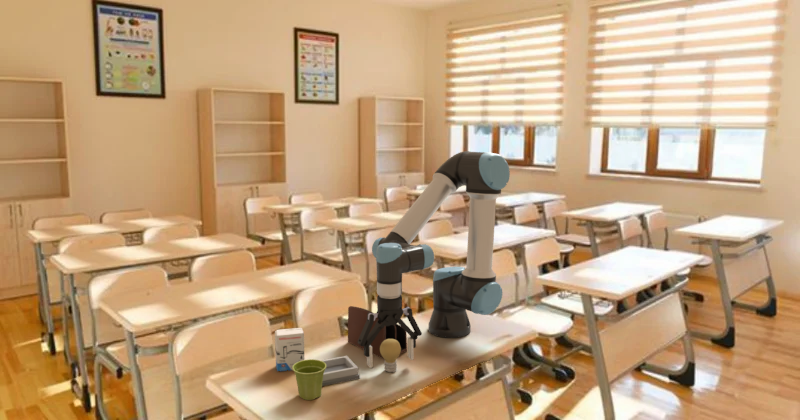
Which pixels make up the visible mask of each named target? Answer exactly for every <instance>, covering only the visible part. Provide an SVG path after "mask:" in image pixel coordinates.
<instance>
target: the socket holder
mask: <svg viewBox="0 0 800 420" xmlns="http://www.w3.org/2000/svg"><path fill="white" fill-rule="evenodd" d="M320 361H323V362H325V363H326V369H325V372H324V374H323V382H322V387H324V386H329V385H333V384H340V383H344V382H349V381H354V380H358V379H360V378H361V376H360V374H359V367H358V365H356V364H355V362H353V360H352V359H351V358H350V357H349V356H348V355H343V356H337V357H333V358H327V359H322V360H320Z"/></svg>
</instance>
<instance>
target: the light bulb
mask: <svg viewBox="0 0 800 420" xmlns="http://www.w3.org/2000/svg"><path fill="white" fill-rule="evenodd" d="M400 352H401V347H400V344H399V342H398V341H397V340H395V339H386V340H384V341H383V342H382V343H381V346H380V353H381V355H382V357H383V358H384V359H383V358H382V359H383V361H384V362H383V363H384V365H383V366H384V371H386V372H388V373H394V372H396V371H397V369H398V368H397V362H398V361H397V359H398V358H399V356H400Z"/></svg>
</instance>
